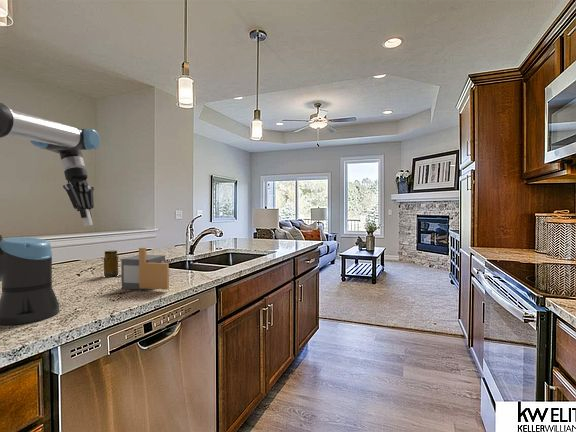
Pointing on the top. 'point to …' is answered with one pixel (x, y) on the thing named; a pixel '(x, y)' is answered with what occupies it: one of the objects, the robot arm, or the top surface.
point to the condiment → (111, 264)
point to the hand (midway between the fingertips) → (88, 225)
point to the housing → (136, 270)
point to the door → (152, 273)
